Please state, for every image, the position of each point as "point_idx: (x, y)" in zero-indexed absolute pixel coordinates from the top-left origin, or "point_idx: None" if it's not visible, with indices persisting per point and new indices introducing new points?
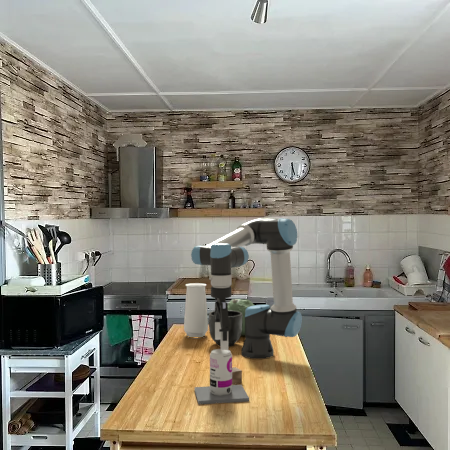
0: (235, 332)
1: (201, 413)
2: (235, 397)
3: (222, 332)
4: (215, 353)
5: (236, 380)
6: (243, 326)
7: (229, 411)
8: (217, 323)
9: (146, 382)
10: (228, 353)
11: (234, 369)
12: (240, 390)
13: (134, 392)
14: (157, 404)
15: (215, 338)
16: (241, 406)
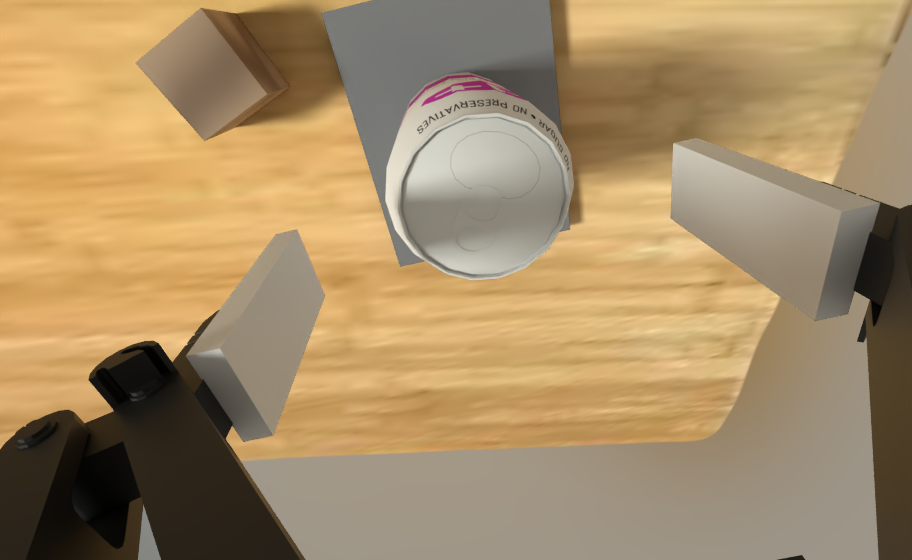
0: None
1: (662, 200)
2: (534, 48)
3: (839, 282)
4: (548, 244)
5: (256, 51)
6: None
7: (661, 75)
8: (265, 399)
9: (337, 431)
10: (538, 130)
11: (195, 69)
12: (425, 19)
13: (443, 441)
14: (555, 359)
15: (322, 301)
16: (607, 10)
